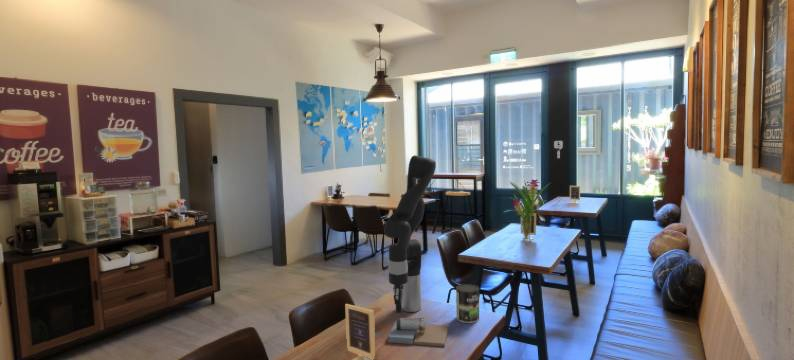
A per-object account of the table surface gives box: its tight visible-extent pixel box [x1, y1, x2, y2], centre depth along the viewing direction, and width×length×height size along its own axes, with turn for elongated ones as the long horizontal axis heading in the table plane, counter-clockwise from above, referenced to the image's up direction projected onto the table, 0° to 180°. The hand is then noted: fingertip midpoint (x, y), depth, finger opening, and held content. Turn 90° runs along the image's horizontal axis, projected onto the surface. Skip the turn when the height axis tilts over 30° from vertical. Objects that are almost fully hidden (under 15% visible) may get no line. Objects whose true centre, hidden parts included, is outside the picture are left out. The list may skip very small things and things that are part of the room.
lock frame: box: [387, 321, 449, 348], centre depth 173 cm, size 16×22×5 cm
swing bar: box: [395, 317, 427, 330], centre depth 173 cm, size 12×3×4 cm, turn 84°
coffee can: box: [455, 283, 480, 324], centre depth 187 cm, size 10×10×14 cm
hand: (398, 312), depth 167 cm, fingers closed
